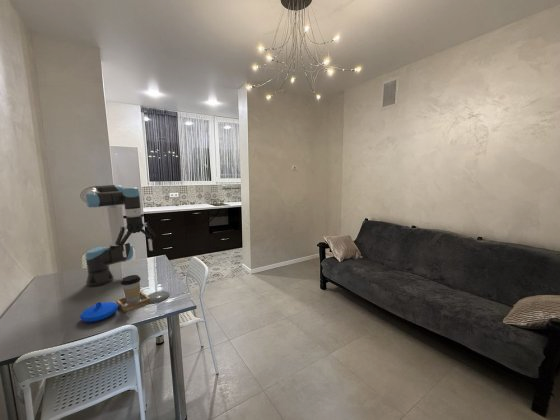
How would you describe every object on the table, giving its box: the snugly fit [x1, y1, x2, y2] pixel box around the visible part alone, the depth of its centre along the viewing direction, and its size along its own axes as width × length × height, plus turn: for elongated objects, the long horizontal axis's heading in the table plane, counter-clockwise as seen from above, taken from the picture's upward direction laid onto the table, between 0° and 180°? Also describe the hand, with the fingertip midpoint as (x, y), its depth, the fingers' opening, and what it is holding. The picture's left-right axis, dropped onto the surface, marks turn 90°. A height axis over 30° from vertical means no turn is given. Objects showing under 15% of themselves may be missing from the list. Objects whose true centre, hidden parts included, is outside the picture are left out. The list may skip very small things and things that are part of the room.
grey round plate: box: [143, 290, 170, 304], centre depth 144 cm, size 13×13×1 cm
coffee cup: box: [120, 274, 141, 306], centre depth 137 cm, size 9×9×15 cm
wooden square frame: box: [115, 290, 151, 313], centre depth 138 cm, size 13×13×2 cm
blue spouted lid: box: [79, 301, 119, 323], centre depth 126 cm, size 16×16×7 cm
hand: (138, 253), depth 139 cm, fingers open, 13 cm apart
